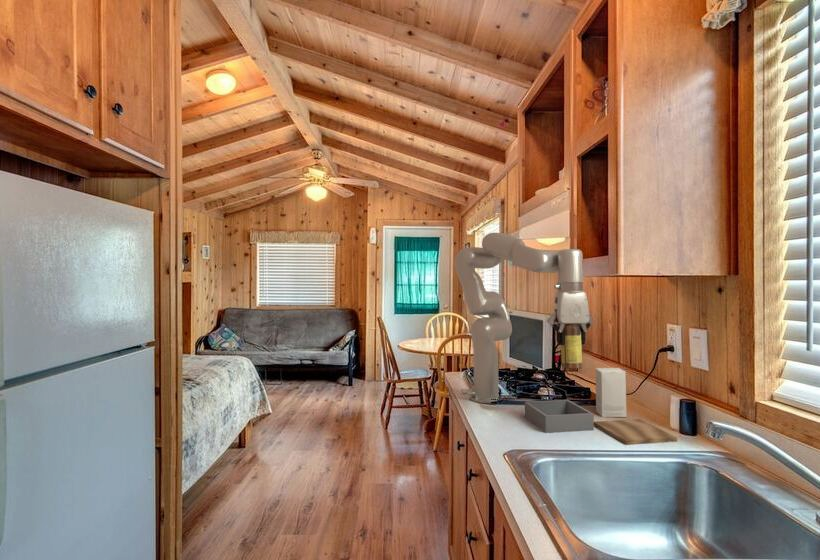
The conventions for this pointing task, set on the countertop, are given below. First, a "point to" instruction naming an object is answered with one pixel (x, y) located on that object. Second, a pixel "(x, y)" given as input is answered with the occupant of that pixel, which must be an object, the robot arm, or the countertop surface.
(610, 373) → the skincare box
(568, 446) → the countertop surface
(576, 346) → the sauce bottle
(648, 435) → the board
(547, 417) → the bin
